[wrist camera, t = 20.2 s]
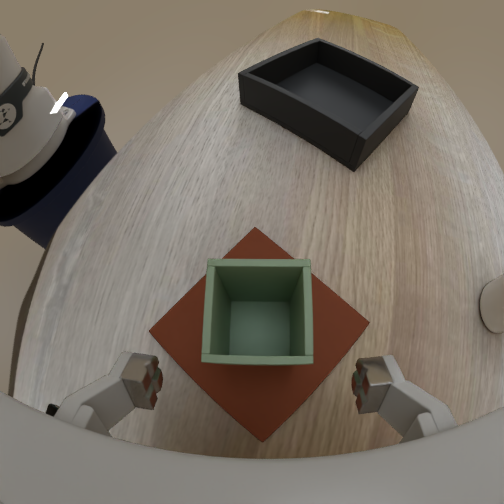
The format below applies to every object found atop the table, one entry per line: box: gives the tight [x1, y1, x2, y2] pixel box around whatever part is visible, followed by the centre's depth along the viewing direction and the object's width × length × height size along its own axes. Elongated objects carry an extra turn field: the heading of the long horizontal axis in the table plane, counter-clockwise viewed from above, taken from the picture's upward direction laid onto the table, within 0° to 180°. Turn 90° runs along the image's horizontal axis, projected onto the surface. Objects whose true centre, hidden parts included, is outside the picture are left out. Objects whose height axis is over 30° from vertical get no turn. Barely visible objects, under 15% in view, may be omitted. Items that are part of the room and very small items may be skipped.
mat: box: [149, 227, 369, 442], centre depth 20 cm, size 12×12×1 cm
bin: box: [238, 38, 419, 171], centre depth 28 cm, size 16×16×5 cm
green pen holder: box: [201, 259, 313, 365], centre depth 16 cm, size 5×5×8 cm
